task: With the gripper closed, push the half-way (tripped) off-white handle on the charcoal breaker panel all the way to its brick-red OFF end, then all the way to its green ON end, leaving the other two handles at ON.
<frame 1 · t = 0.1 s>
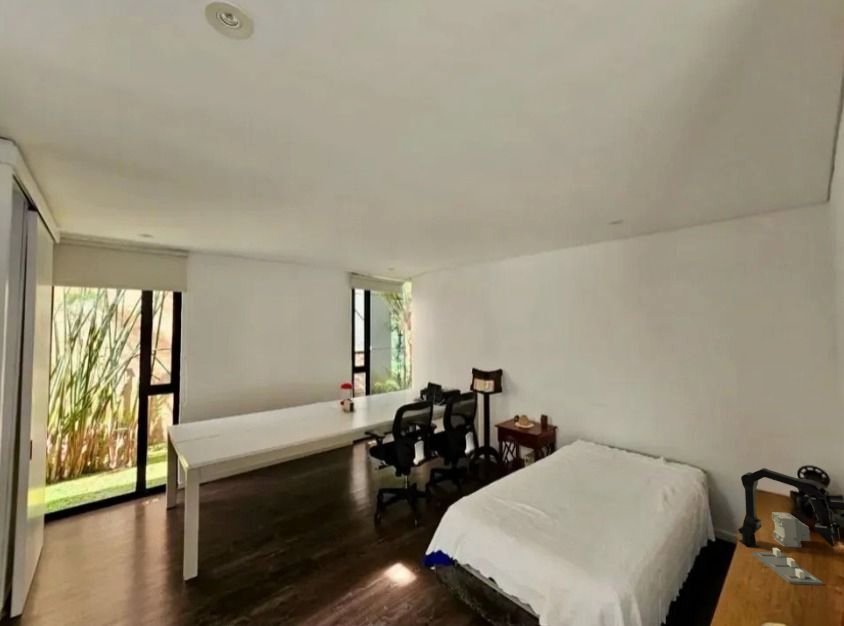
hand: (835, 543, 181), 15 cm above the table, tool pointing down, fingers open, 9 cm apart
circuit breaker: (794, 543, 208), on the table
handle tripped: (799, 573, 179), point 3 cm above the table, slide at 0.0 cm
breaker panel: (785, 568, 187), on the table
handle middle: (791, 562, 187), point 3 cm above the table, slide at 3.0 cm
handle left: (776, 552, 196), point 3 cm above the table, slide at 3.0 cm
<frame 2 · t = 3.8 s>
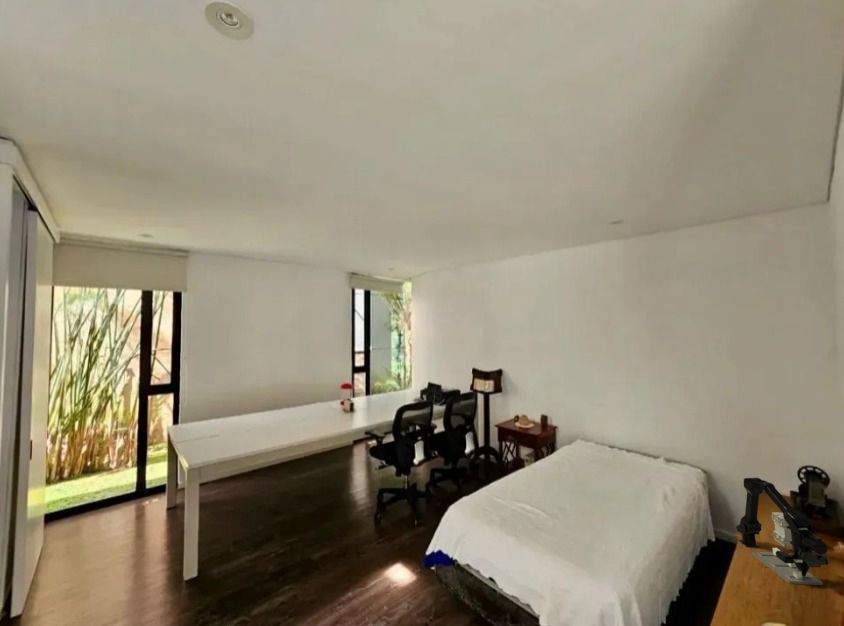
hand: (803, 575, 178), 2 cm above the table, tool pointing down, fingers closed
handle tripped: (797, 573, 179), point 3 cm above the table, slide at -1.1 cm, touching gripper
everything else where it was.
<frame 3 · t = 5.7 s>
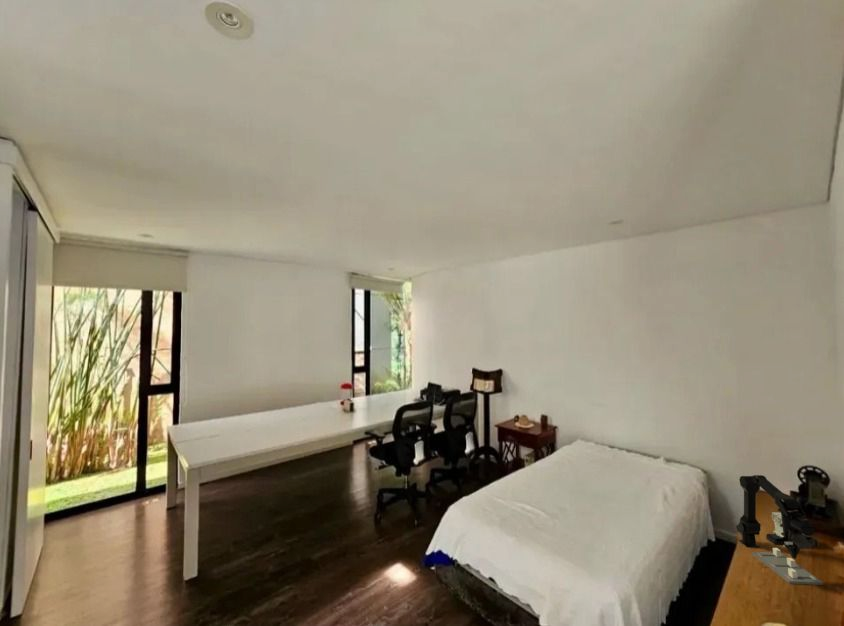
hand: (793, 558, 179), 10 cm above the table, tool pointing down, fingers closed
handle tripped: (792, 573, 179), point 3 cm above the table, slide at -3.1 cm
everything else where it was.
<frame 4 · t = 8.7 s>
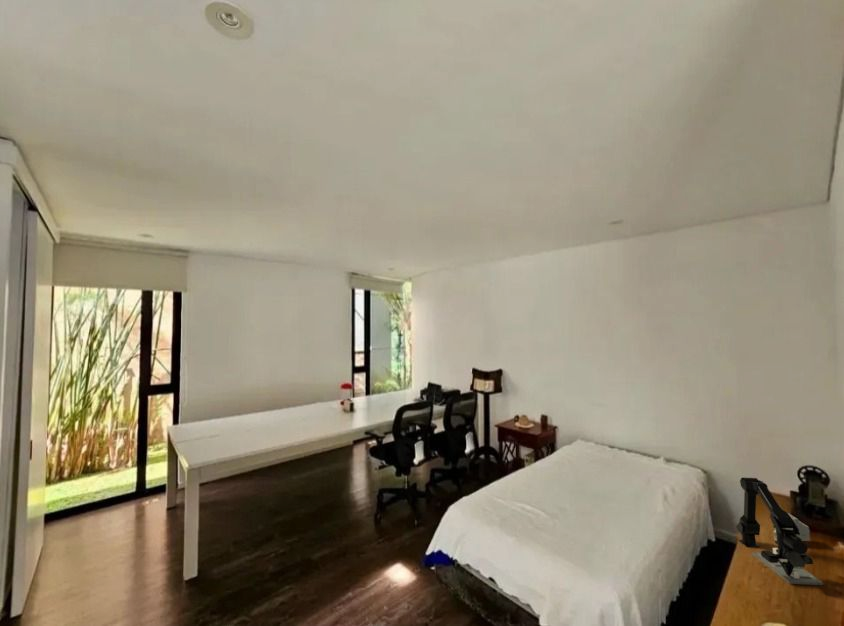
hand: (788, 575, 179), 2 cm above the table, tool pointing down, fingers closed
handle tripped: (794, 573, 179), point 3 cm above the table, slide at -2.3 cm, touching gripper
everything else where it was.
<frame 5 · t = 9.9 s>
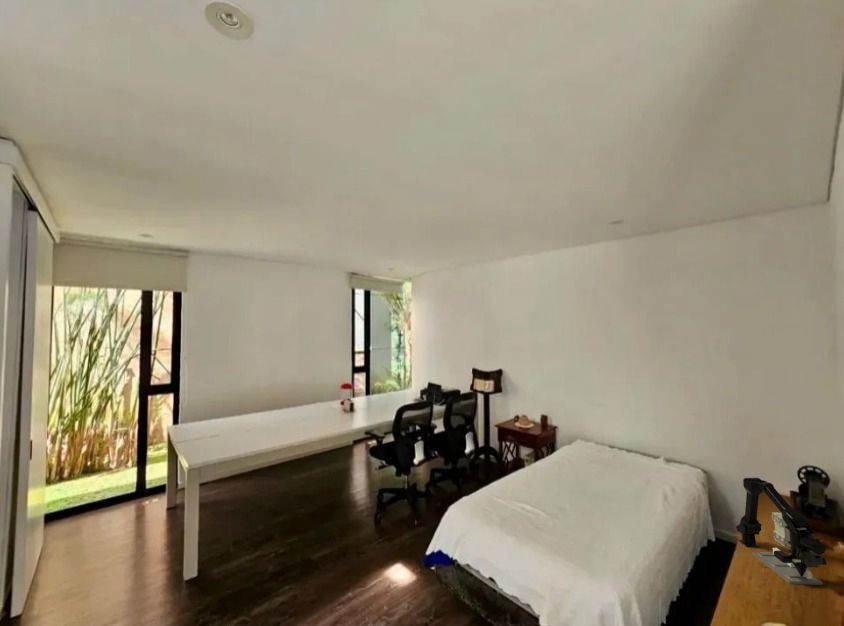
hand: (801, 575, 179), 2 cm above the table, tool pointing down, fingers closed
handle tripped: (807, 573, 178), point 3 cm above the table, slide at 3.2 cm, touching gripper
everything else where it was.
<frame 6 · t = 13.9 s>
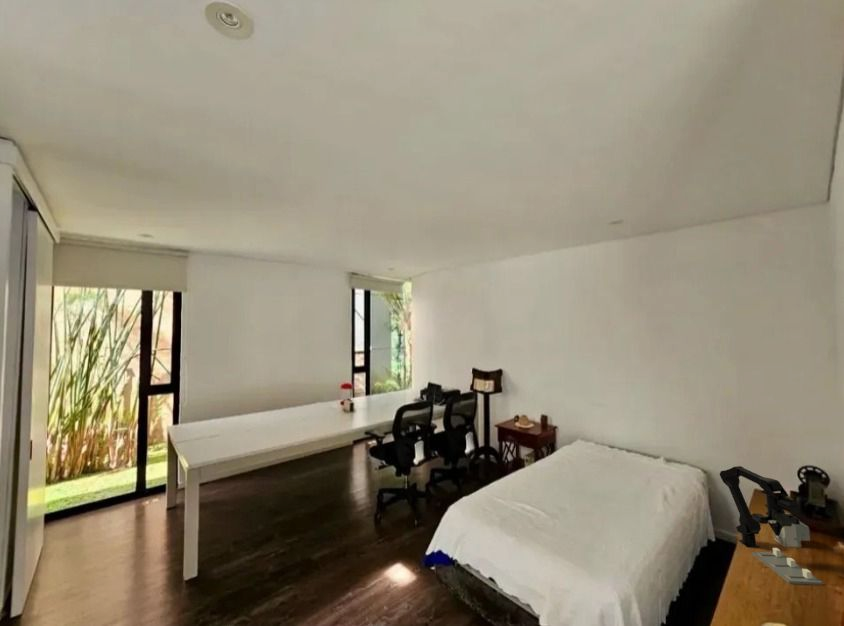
hand: (777, 535, 194), 13 cm above the table, tool pointing down, fingers closed
handle tripped: (807, 573, 178), point 3 cm above the table, slide at 3.1 cm
everything else where it was.
at the end: handle tripped slide at 3.1 cm; handle left slide at 3.0 cm; handle middle slide at 3.0 cm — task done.
